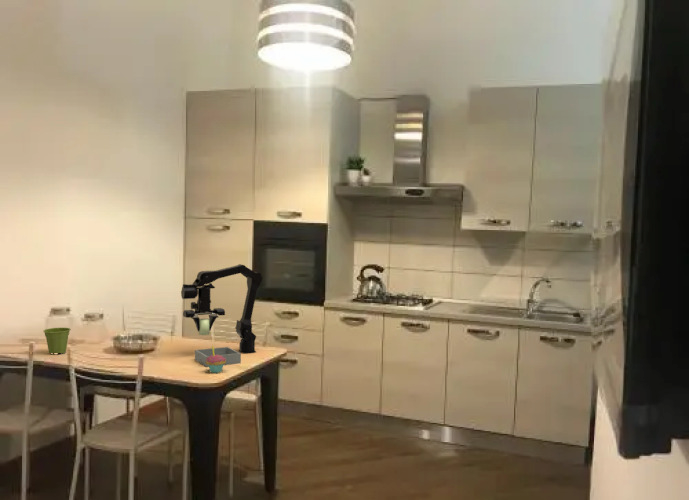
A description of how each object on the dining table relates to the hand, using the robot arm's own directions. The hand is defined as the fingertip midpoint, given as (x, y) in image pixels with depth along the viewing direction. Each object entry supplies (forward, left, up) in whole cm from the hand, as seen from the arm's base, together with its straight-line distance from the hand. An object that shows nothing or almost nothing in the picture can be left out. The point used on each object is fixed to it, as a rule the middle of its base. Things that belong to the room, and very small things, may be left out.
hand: (204, 330), depth 294 cm
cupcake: (+5, +31, -12) cm, 34 cm away
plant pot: (+59, -36, -12) cm, 70 cm away
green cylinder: (0, 0, -2) cm, 2 cm away
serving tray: (-2, +14, -12) cm, 18 cm away
